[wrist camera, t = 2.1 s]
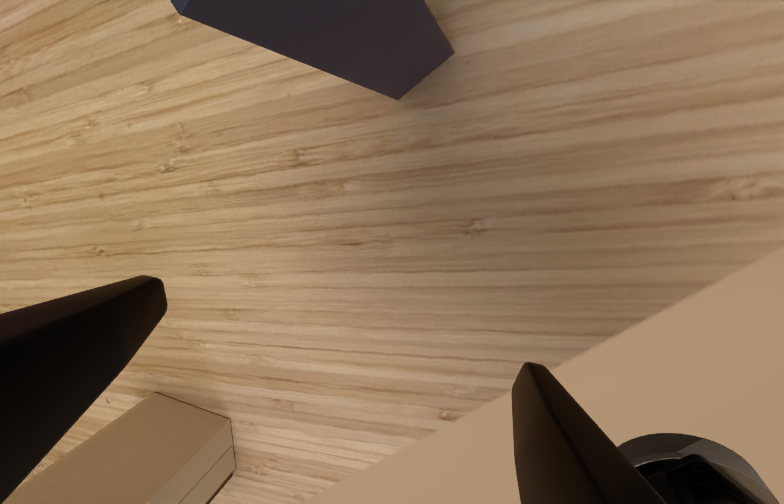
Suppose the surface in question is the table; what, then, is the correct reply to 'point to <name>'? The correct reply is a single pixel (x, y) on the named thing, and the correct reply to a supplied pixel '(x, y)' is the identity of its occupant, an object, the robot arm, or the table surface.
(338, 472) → the table surface
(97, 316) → the robot arm
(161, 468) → the tan rectangular block
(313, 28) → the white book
